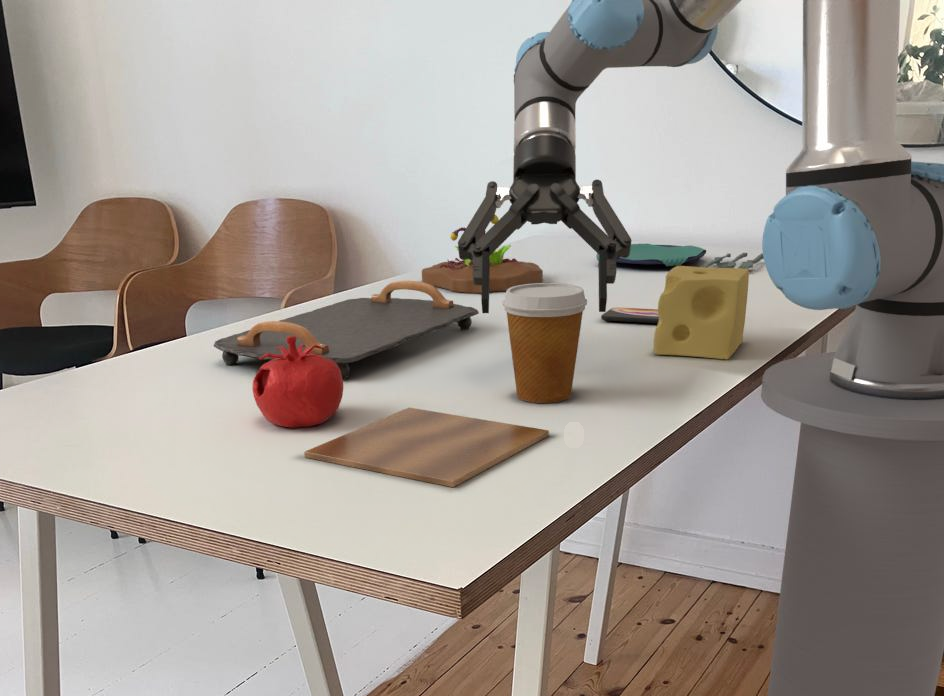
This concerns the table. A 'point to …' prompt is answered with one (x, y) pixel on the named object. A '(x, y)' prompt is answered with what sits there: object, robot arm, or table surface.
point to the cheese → (702, 312)
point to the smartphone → (631, 315)
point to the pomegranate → (298, 387)
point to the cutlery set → (678, 256)
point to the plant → (501, 272)
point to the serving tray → (352, 327)
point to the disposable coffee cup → (544, 338)
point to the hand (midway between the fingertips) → (543, 306)
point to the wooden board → (428, 446)
